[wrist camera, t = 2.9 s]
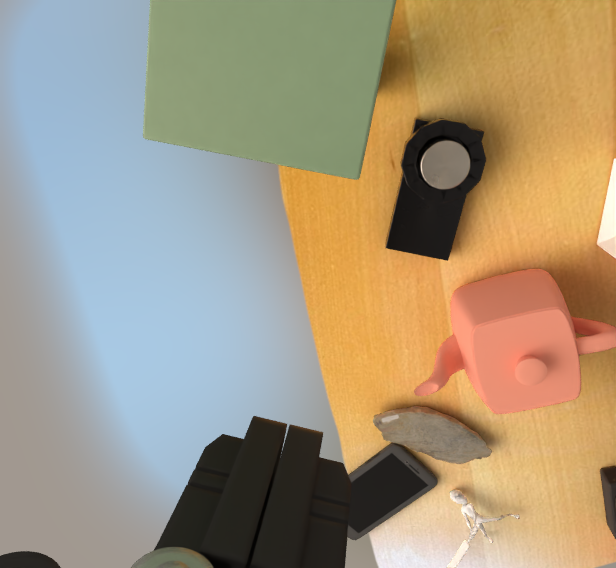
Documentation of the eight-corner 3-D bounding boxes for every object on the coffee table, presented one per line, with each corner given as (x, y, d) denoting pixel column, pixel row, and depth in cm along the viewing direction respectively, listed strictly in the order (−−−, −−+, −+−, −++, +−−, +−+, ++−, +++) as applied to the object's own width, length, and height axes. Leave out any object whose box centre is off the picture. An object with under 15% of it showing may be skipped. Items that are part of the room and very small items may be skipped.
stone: (367, 443, 57) (385, 407, 56) (365, 426, 60) (381, 391, 58) (481, 473, 59) (501, 439, 57) (473, 455, 62) (493, 422, 60)
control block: (410, 111, 49) (413, 113, 45) (487, 125, 48) (495, 129, 45) (380, 242, 53) (380, 252, 50) (450, 256, 53) (455, 267, 50)
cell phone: (310, 502, 66) (310, 506, 65) (395, 439, 61) (395, 443, 60) (353, 538, 67) (353, 543, 66) (440, 479, 62) (440, 483, 61)
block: (224, -63, 14) (155, -126, 10) (402, -33, 14) (413, -83, 9) (207, 122, 16) (141, 138, 11) (365, 152, 15) (359, 181, 11)
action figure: (468, 605, 62) (417, 591, 60) (450, 565, 67) (401, 551, 65) (529, 531, 59) (478, 513, 57) (505, 495, 64) (457, 477, 62)
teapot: (600, 351, 54) (647, 410, 45) (422, 389, 58) (430, 451, 49) (581, 246, 51) (627, 285, 41) (394, 294, 55) (396, 340, 45)
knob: (425, 134, 46) (427, 136, 44) (472, 142, 46) (476, 145, 44) (414, 180, 48) (415, 184, 46) (459, 189, 47) (462, 193, 46)
